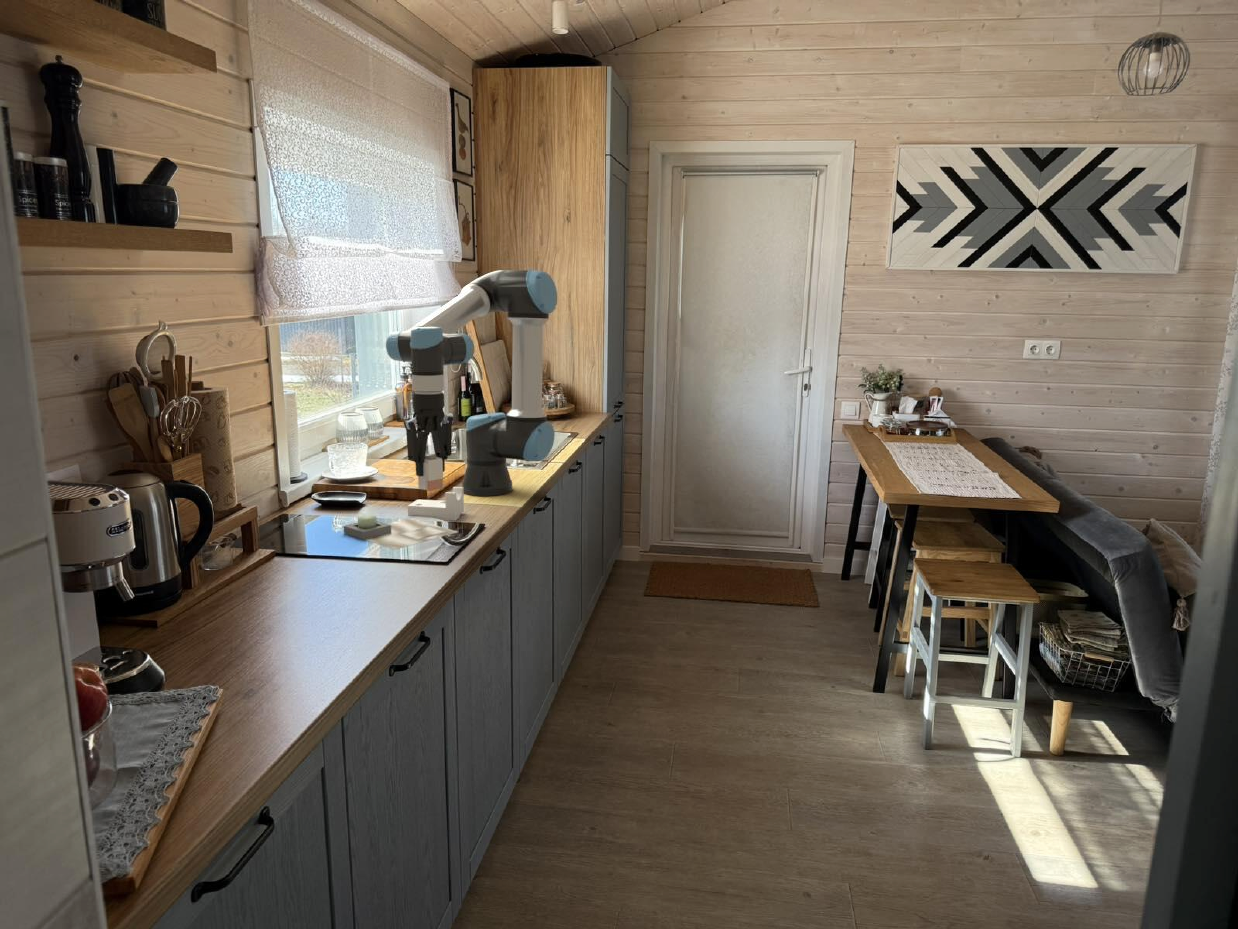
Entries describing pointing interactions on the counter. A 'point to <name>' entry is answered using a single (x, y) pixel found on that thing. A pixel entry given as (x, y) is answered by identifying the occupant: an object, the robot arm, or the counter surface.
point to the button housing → (367, 530)
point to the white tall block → (434, 472)
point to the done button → (367, 521)
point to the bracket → (440, 506)
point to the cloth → (410, 533)
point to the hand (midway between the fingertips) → (431, 486)
